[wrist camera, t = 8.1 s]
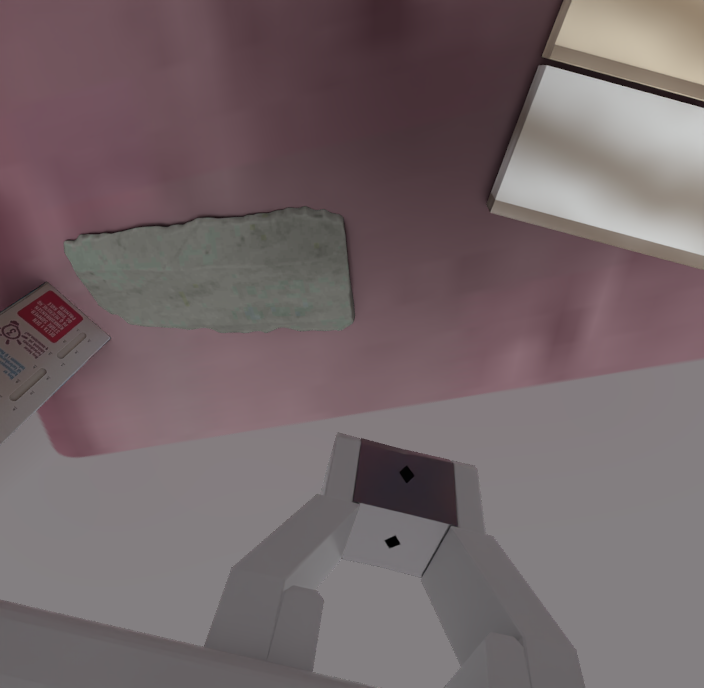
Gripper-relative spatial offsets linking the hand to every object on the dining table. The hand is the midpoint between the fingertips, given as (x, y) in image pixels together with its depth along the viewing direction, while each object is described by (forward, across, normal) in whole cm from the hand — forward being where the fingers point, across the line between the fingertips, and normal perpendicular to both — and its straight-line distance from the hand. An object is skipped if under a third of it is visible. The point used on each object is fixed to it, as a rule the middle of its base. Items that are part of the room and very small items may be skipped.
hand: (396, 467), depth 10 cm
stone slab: (+26, +13, +12) cm, 31 cm away
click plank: (+25, -16, -3) cm, 30 cm away
